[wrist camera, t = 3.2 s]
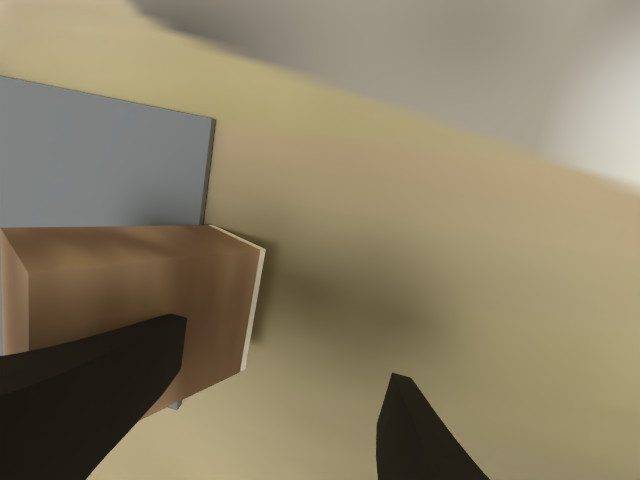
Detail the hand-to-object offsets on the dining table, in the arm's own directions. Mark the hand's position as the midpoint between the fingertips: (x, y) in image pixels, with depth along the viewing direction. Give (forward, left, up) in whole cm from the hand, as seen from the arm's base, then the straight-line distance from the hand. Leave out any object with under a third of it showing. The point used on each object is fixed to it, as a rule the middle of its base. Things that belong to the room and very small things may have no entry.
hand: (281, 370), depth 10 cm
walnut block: (+4, 0, -4) cm, 6 cm away
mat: (+13, 0, -5) cm, 14 cm away
